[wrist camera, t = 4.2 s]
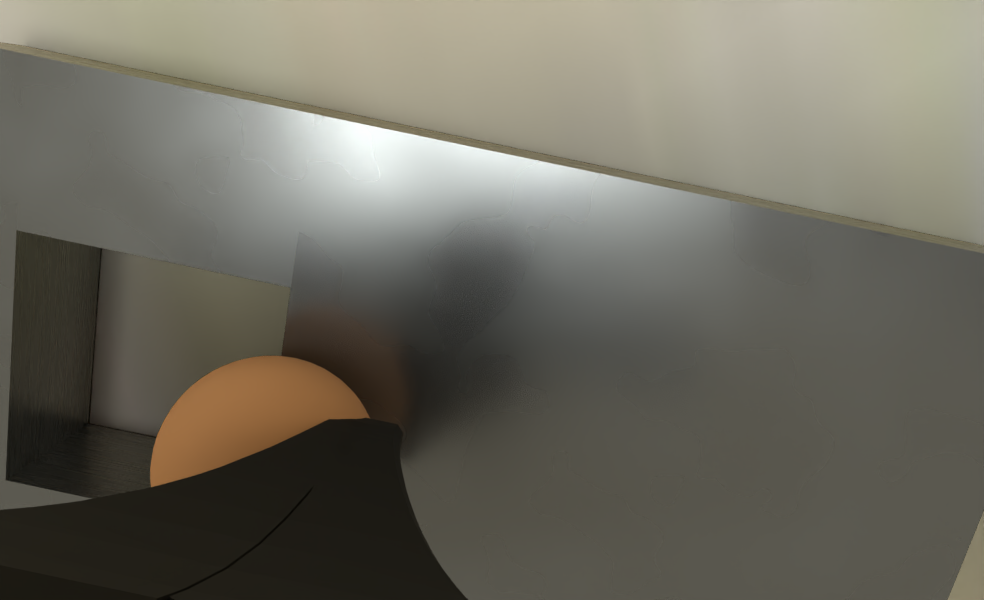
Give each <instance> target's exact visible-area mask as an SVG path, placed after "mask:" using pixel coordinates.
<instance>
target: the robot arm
mask: <svg viewBox="0 0 984 600" xmlns="http://www.w3.org/2000/svg"><path fill="white" fill-rule="evenodd" d="M402 438H403V432H402V430H401V429H400V427H399V425H398V424H394V423H389V422H385V421H380V420H375V419H370V418H361V419H328V420H326V421H324V422H322V423H320V424H318V425H316V426H314V427H312V428H310V429H308V430H306V431H304V432H301V433H299V434H297V435H295V436H293V437H291V438H289V439H286V440H284V441H282V442H280V443H278V444H276V445H274V446H271V447H269V448H267V449H264V450H262V451H259V452H257V453H254V454H252V455H249V456H247V457H244V458H242V459H239V460H237V461H234V462H232V463H229V464H226V465H224V466H221V467H219V468H216V469H213V470H210V471H207V472H204V473H201V474H197V475H194V476H191V477H187V478H184V479H180V480H176V481H173V482H169V483H166V484H162V485H158V486H154V487H150V488H146V489H140V490H135V491H130V492H125V493H119V494H114V495H109V496H103V497H98V498H93V499H88V500H82V501H76V502H69V503H61V504H53V505H45V506H37V507H26V508H15V509H4V510H0V600H468V599H467V598H466V597H465V596H464V595H463V594H462V592H461V591H460V590H459V589H458V588H457V587H456V585H455V584H454V583H453V581H452V580H451V579H450V577H449V576H448V575H447V574H446V572H445V571H444V570H443V568H442V567H441V565H440V564H439V562H438V560H437V559H436V557H435V556H434V554H433V552H432V550H431V549H430V547H429V545H428V543H427V541H426V539H425V537H424V535H423V533H422V531H421V529H420V526H419V524H418V522H417V519H416V517H415V514H414V511H413V508H412V506H411V503H410V500H409V497H408V493H407V490H406V486H405V481H404V477H403V473H402V468H401V461H400V449H401V444H402Z"/></svg>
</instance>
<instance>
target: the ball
mask: <svg viewBox="0 0 984 600" xmlns="http://www.w3.org/2000/svg"><path fill="white" fill-rule="evenodd" d="M361 418H370V417H369V415H368V413H367V411H366V409H365V408H364V406H363V404H362V403H361V401H360V400H359V398H358V397H357V396H356V394H355V393H354V392H353V391H352V390H351V389H350V388H349V387H348V386H347V385H346V384H345V383H344V382H343V381H342V380H341V379H339V378H338V377H336V376H335V375H333V374H332V373H330V372H329V371H327V370H326V369H324V368H322V367H320V366H318V365H315V364H313V363H310V362H308V361H304V360H301V359H297V358H292V357H285V356H258V357H251V358H246V359H242V360H238V361H235V362H232V363H229V364H227V365H224V366H222V367H220V368H218V369H216V370H214V371H212V372H210V373H209V374H207V375H205V376H204V377H202V378H201V379H199V380H198V381H197V382H196V383H195V384H193V385H192V386H191V387H190V388H189V389H188V390H187V391H186V392H185V393H184V394H183V395H182V396H181V397H180V398H179V399H178V400H177V402H176V403H175V404H174V406H173V407H172V408H171V410H170V411H169V413H168V415H167V416H166V418H165V420H164V422H163V424H162V426H161V428H160V430H159V432H158V434H157V437H156V441H155V444H154V447H153V453H152V459H151V466H150V483H151V487H154V486H158V485H162V484H166V483H169V482H173V481H176V480H180V479H184V478H187V477H191V476H194V475H197V474H201V473H204V472H207V471H210V470H213V469H216V468H219V467H221V466H224V465H226V464H229V463H232V462H234V461H237V460H239V459H242V458H244V457H247V456H249V455H252V454H254V453H257V452H259V451H262V450H264V449H267V448H269V447H271V446H274V445H276V444H278V443H280V442H282V441H284V440H286V439H289V438H291V437H293V436H295V435H297V434H299V433H301V432H304V431H306V430H308V429H310V428H312V427H314V426H316V425H318V424H320V423H322V422H324V421H326V420H328V419H361Z"/></svg>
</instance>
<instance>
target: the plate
mask: <svg viewBox="0 0 984 600" xmlns="http://www.w3.org/2000/svg"><path fill="white" fill-rule="evenodd" d="M101 248H103V249H108V250H113V251H118V252H123V253H127V254H132V255H137V256H142V257H146V258H151V259H156V260H161V261H165V262H170V263H175V264H180V265H185V266H189V267H194V268H199V269H204V270H208V271H213V272H218V273H223V274H228V275H232V276H237V277H242V278H247V279H251V280H256V281H261V282H266V283H270V284H275V285H280V286H285V287H290V288H291V290H290V297H289V305H288V312H287V319H286V326H285V333H284V341H283V348H282V355H281V356H285V357H292V358H297V359H301V360H304V361H308V362H310V363H313V364H315V365H318V366H320V367H322V368H324V369H326V370H327V371H329V372H330V373H332V374H333V375H335V376H336V377H338V378H339V379H341V380H342V381H343V382H344V383H345V384H346V385H347V386H348V387H349V388H350V389H351V390H352V391H353V392H354V393H355V394H356V396H357V397H358V398H359V400H360V401H361V403H362V404H363V406H364V408H365V409H366V411H367V413H368V415H369V417H370V419H375V420H380V421H385V422H389V423H394V424H398V425H399V427H400V429H401V430H402V432H403V438H402V444H401V449H400V461H401V468H402V473H403V477H404V481H405V486H406V490H407V493H408V497H409V500H410V503H411V506H412V508H413V511H414V514H415V517H416V519H417V522H418V524H419V526H420V529H421V531H422V533H423V535H424V537H425V539H426V541H427V543H428V545H429V547H430V549H431V550H432V552H433V554H434V556H435V557H436V559H437V560H438V562H439V564H440V565H441V567H442V568H443V570H444V571H445V572H446V574H447V575H448V576H449V577H450V579H451V580H452V581H453V583H454V584H455V585H456V587H457V588H458V589H459V590H460V591H461V592H462V594H463V595H464V596H465V597H466V598H467V599H468V600H947V599H948V597H949V595H950V592H951V590H952V587H953V585H954V582H955V580H956V577H957V575H958V572H959V570H960V567H961V565H962V563H963V560H964V558H965V555H966V553H967V550H968V548H969V545H970V543H971V540H972V538H973V535H974V533H975V531H976V528H977V526H978V523H979V521H980V518H981V516H982V513H983V511H984V246H983V245H978V244H973V243H969V242H964V241H959V240H954V239H949V238H944V237H940V236H935V235H930V234H925V233H920V232H916V231H911V230H906V229H901V228H896V227H892V226H887V225H882V224H877V223H872V222H868V221H863V220H858V219H853V218H848V217H844V216H839V215H834V214H829V213H824V212H820V211H815V210H810V209H805V208H800V207H796V206H791V205H786V204H781V203H776V202H772V201H767V200H762V199H757V198H752V197H748V196H743V195H738V194H733V193H728V192H724V191H719V190H714V189H709V188H704V187H700V186H695V185H690V184H685V183H680V182H675V181H671V180H666V179H661V178H656V177H651V176H647V175H642V174H637V173H632V172H627V171H623V170H618V169H613V168H608V167H603V166H599V165H594V164H589V163H584V162H579V161H575V160H570V159H565V158H560V157H555V156H551V155H546V154H541V153H536V152H531V151H527V150H522V149H517V148H512V147H507V146H503V145H498V144H493V143H488V142H483V141H479V140H474V139H469V138H464V137H459V136H455V135H450V134H445V133H440V132H435V131H431V130H426V129H421V128H416V127H411V126H406V125H402V124H397V123H392V122H387V121H382V120H378V119H373V118H368V117H363V116H358V115H354V114H349V113H344V112H339V111H334V110H330V109H325V108H320V107H315V106H310V105H306V104H301V103H296V102H291V101H286V100H282V99H277V98H272V97H267V96H262V95H258V94H253V93H248V92H243V91H238V90H234V89H229V88H224V87H219V86H214V85H210V84H205V83H200V82H195V81H190V80H186V79H181V78H176V77H171V76H166V75H161V74H157V73H152V72H147V71H142V70H137V69H133V68H128V67H123V66H118V65H113V64H109V63H104V62H99V61H94V60H89V59H85V58H80V57H75V56H70V55H65V54H61V53H56V52H51V51H46V50H41V49H37V48H32V47H27V46H22V45H15V44H8V43H1V42H0V510H4V509H15V508H26V507H37V506H45V505H53V504H61V503H69V502H76V501H82V500H88V499H93V498H98V497H103V496H109V495H114V494H119V493H125V492H130V491H135V490H140V489H146V488H150V487H151V483H150V466H151V459H152V453H153V447H154V444H155V441H156V438H155V437H150V436H145V435H140V434H136V433H131V432H126V431H121V430H117V429H112V428H107V427H102V426H98V425H93V424H88V419H89V405H90V391H91V377H92V363H93V349H94V336H95V322H96V308H97V294H98V280H99V267H100V253H101Z"/></svg>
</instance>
